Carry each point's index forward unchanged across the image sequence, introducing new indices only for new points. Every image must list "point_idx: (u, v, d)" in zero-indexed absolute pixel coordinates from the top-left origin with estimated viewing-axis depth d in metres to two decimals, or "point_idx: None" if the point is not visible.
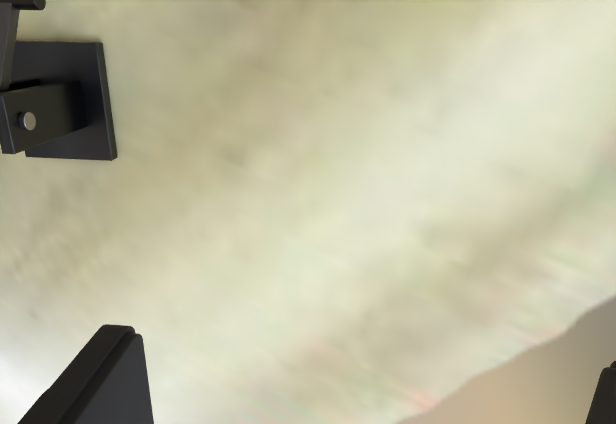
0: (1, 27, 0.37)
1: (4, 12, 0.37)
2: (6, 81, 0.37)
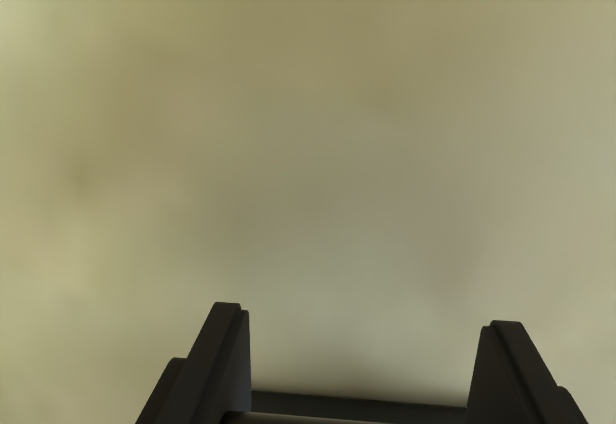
0: None
1: None
2: None
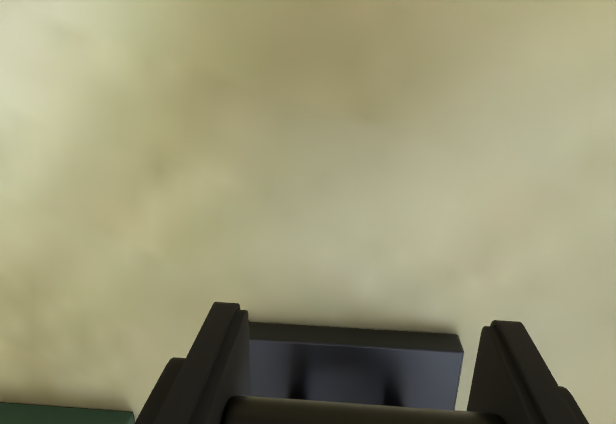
0: None
1: None
2: None
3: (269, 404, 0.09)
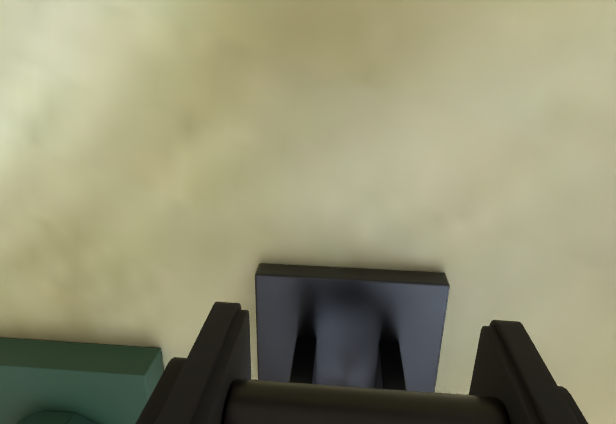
0: None
1: None
2: None
3: (269, 397, 0.08)
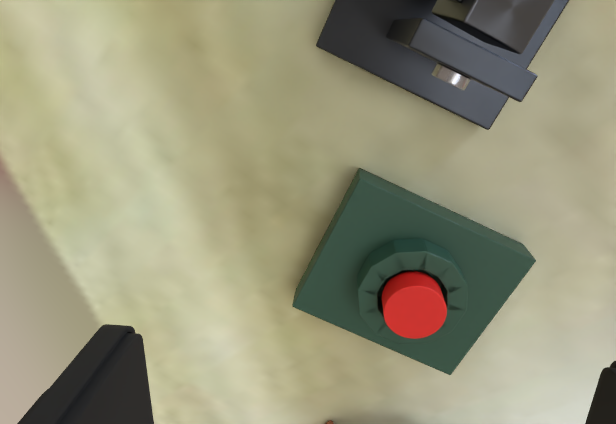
0: None
1: None
2: None
3: None
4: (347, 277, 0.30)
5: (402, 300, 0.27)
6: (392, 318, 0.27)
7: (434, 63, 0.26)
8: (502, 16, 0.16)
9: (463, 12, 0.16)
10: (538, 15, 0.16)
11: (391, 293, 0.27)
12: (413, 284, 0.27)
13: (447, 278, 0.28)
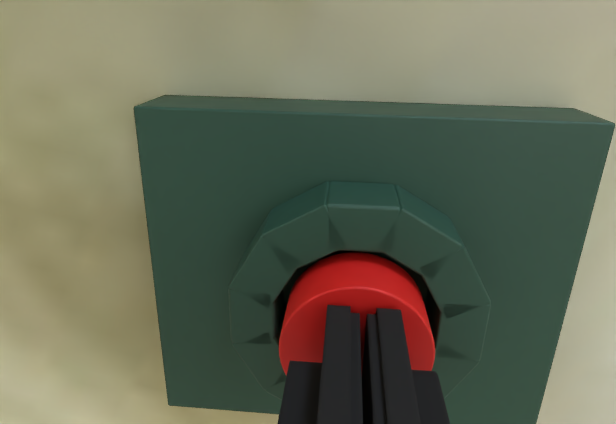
0: None
1: None
2: None
3: None
4: (230, 318, 0.14)
5: (311, 337, 0.11)
6: None
7: None
8: None
9: None
10: None
11: (282, 329, 0.11)
12: (316, 291, 0.10)
13: (407, 248, 0.11)
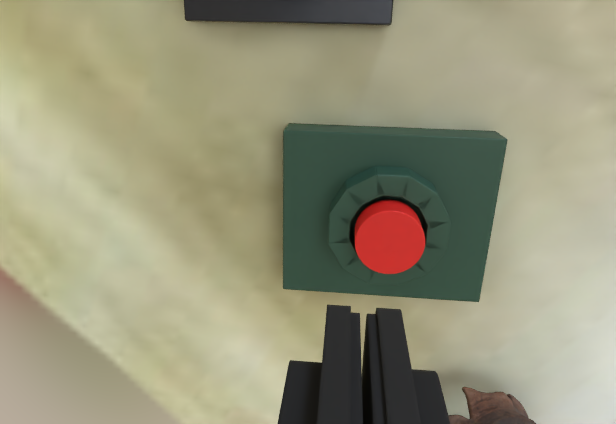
0: None
1: None
2: None
3: None
4: (321, 237, 0.28)
5: (370, 234, 0.24)
6: (369, 258, 0.25)
7: None
8: None
9: None
10: None
11: (356, 231, 0.24)
12: (373, 213, 0.24)
13: (412, 194, 0.24)
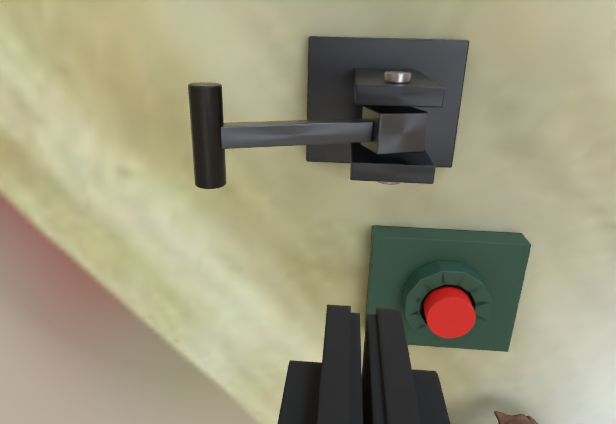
0: (263, 136, 0.23)
1: (238, 136, 0.23)
2: (338, 120, 0.25)
3: (194, 169, 0.24)
4: (395, 307, 0.39)
5: (437, 313, 0.35)
6: (436, 328, 0.36)
7: None
8: (399, 140, 0.25)
9: (374, 148, 0.25)
10: (422, 128, 0.25)
11: (428, 310, 0.35)
12: (440, 299, 0.35)
13: (466, 284, 0.36)
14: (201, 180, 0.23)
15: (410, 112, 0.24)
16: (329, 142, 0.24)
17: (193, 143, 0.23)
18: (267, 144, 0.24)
